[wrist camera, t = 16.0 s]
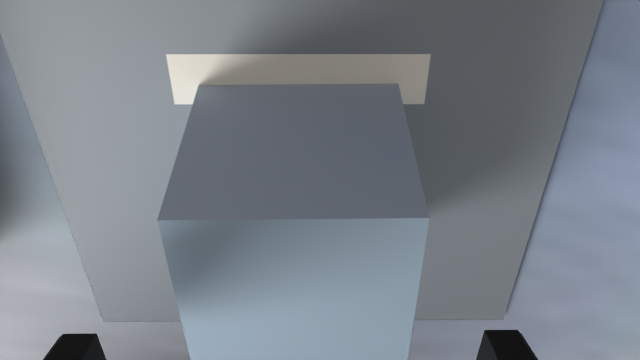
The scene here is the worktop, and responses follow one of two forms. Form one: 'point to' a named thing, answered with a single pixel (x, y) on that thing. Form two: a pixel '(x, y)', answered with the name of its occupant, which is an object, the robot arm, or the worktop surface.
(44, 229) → the worktop surface
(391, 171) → the grey cube
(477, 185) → the light gray board
